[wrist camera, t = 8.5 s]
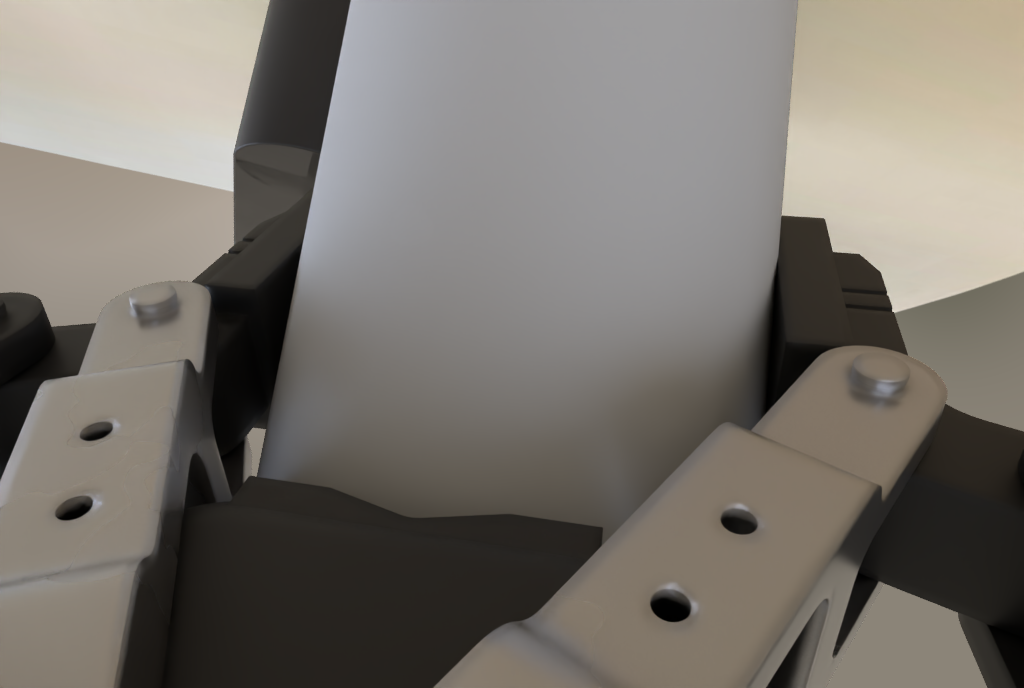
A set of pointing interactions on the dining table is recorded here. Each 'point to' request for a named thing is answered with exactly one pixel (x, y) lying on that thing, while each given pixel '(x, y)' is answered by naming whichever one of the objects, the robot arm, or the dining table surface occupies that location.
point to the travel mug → (536, 253)
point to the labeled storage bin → (286, 108)
